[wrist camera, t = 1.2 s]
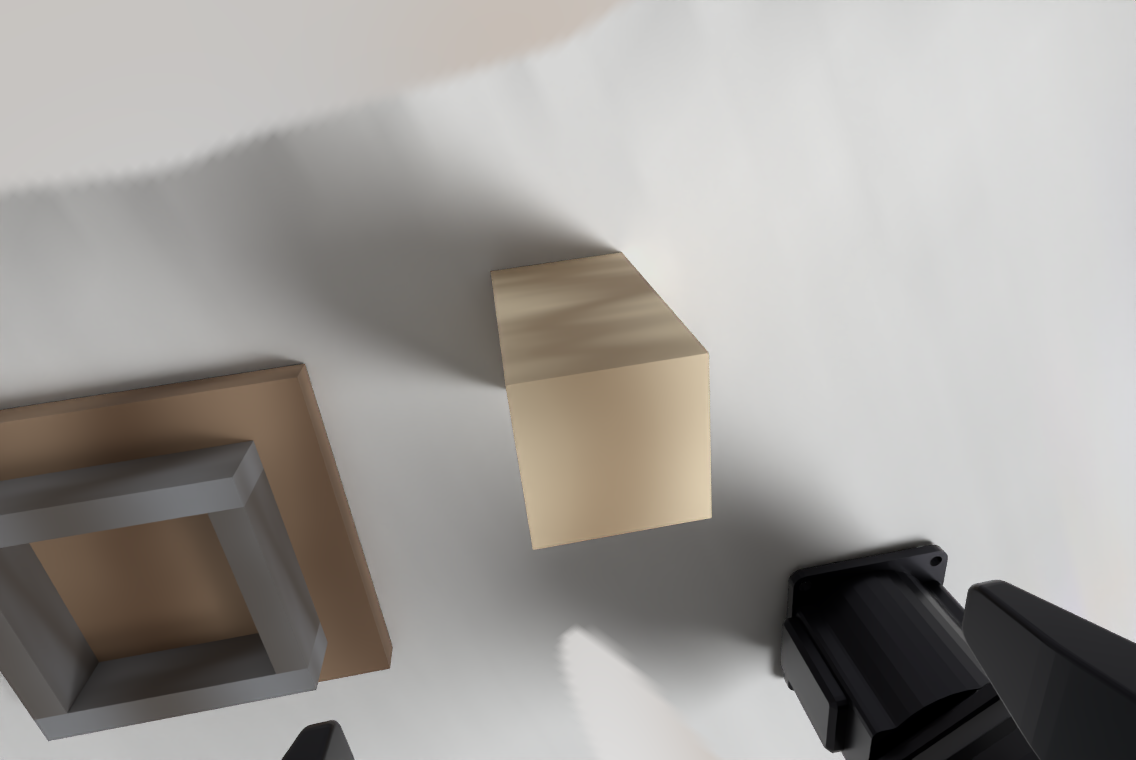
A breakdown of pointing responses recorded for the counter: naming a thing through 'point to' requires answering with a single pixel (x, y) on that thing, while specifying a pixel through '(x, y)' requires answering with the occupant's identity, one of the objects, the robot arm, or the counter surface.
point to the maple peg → (602, 400)
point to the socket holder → (177, 553)
